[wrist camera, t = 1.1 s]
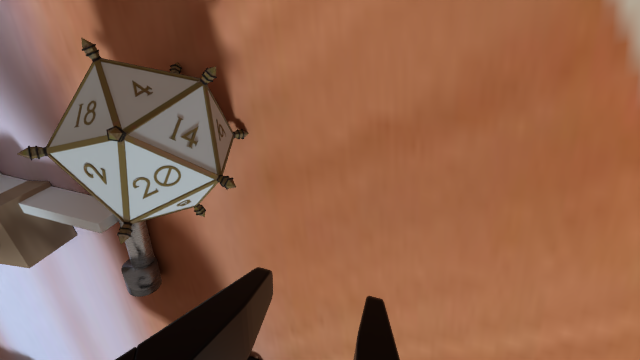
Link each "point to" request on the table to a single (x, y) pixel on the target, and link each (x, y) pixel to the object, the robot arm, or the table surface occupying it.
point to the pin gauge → (140, 262)
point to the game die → (142, 139)
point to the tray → (64, 206)
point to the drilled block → (28, 228)
